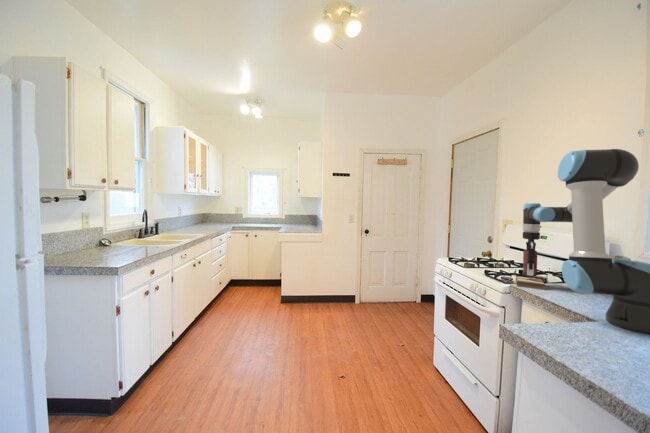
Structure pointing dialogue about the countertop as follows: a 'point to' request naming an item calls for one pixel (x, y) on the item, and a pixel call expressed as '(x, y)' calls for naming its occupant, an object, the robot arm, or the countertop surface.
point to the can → (525, 259)
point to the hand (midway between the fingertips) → (529, 274)
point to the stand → (530, 283)
